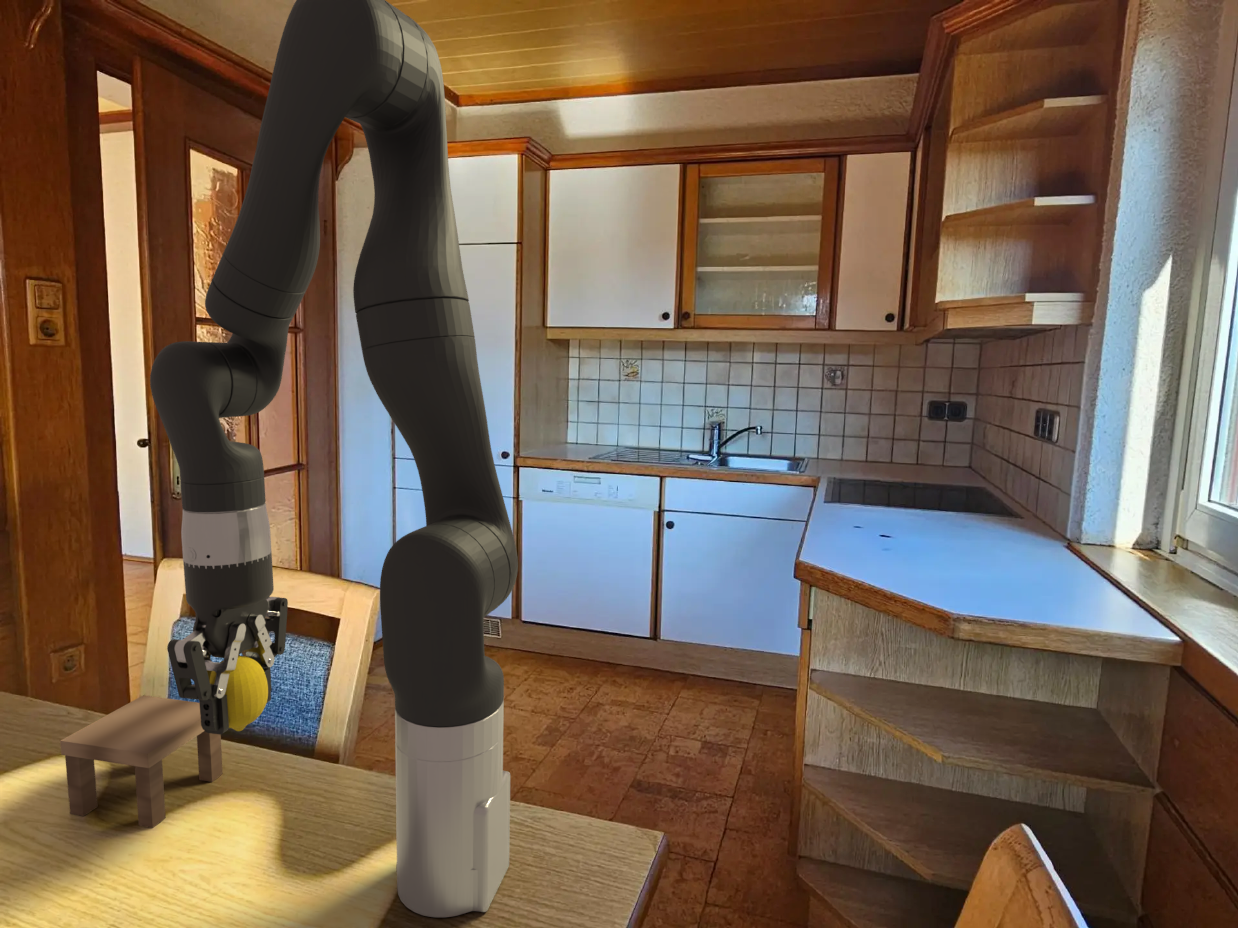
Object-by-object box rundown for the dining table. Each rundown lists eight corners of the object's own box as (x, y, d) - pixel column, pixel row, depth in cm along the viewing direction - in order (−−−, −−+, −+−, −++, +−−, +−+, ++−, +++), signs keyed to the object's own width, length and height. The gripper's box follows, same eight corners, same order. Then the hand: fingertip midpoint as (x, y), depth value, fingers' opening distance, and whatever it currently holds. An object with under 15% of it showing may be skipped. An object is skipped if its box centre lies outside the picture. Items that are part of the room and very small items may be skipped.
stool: (225, 772, 81) (222, 705, 80) (152, 829, 71) (147, 753, 70) (147, 761, 82) (143, 695, 81) (66, 814, 73) (60, 740, 72)
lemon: (244, 747, 69) (239, 668, 68) (194, 741, 70) (188, 662, 69) (282, 720, 74) (277, 645, 73) (235, 714, 76) (230, 641, 74)
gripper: (207, 575, 62) (220, 759, 64) (308, 536, 76) (316, 688, 78) (132, 570, 63) (147, 750, 66) (245, 532, 77) (254, 682, 80)
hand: (239, 715), depth 72 cm, fingers closed on lemon, 5 cm apart
